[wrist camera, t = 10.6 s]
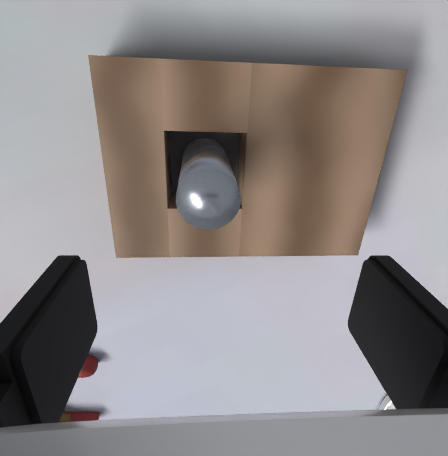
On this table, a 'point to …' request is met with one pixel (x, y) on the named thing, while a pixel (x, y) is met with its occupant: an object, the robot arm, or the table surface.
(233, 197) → the pin
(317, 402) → the table surface
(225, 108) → the socket block
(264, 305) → the table surface
